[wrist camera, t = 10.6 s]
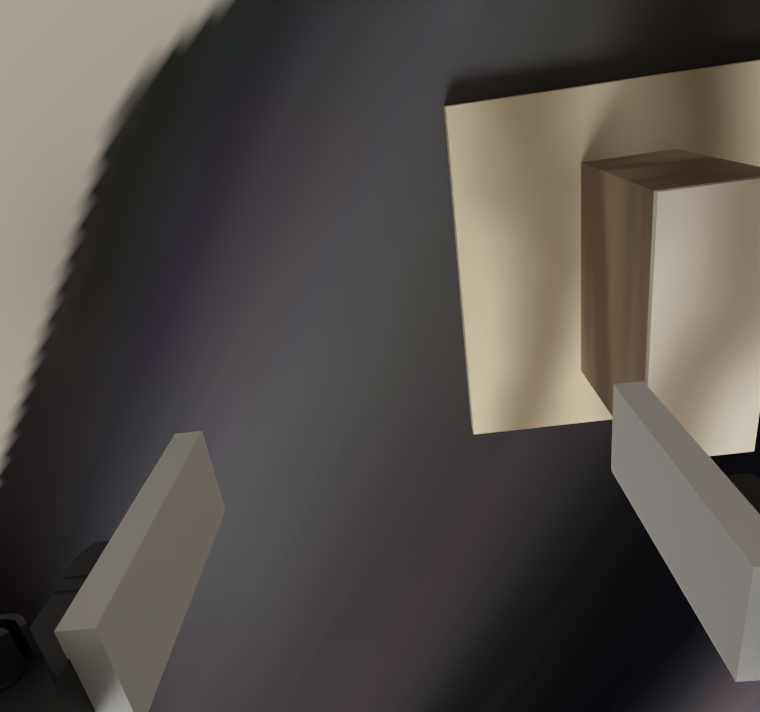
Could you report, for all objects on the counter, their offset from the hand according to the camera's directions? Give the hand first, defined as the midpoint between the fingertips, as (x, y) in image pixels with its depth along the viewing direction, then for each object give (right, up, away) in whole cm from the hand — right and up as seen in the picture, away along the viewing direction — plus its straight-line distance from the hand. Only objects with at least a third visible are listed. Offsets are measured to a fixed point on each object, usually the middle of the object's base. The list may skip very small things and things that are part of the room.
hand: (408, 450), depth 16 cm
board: (+13, +7, +12) cm, 19 cm away
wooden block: (+10, +7, +11) cm, 17 cm away
